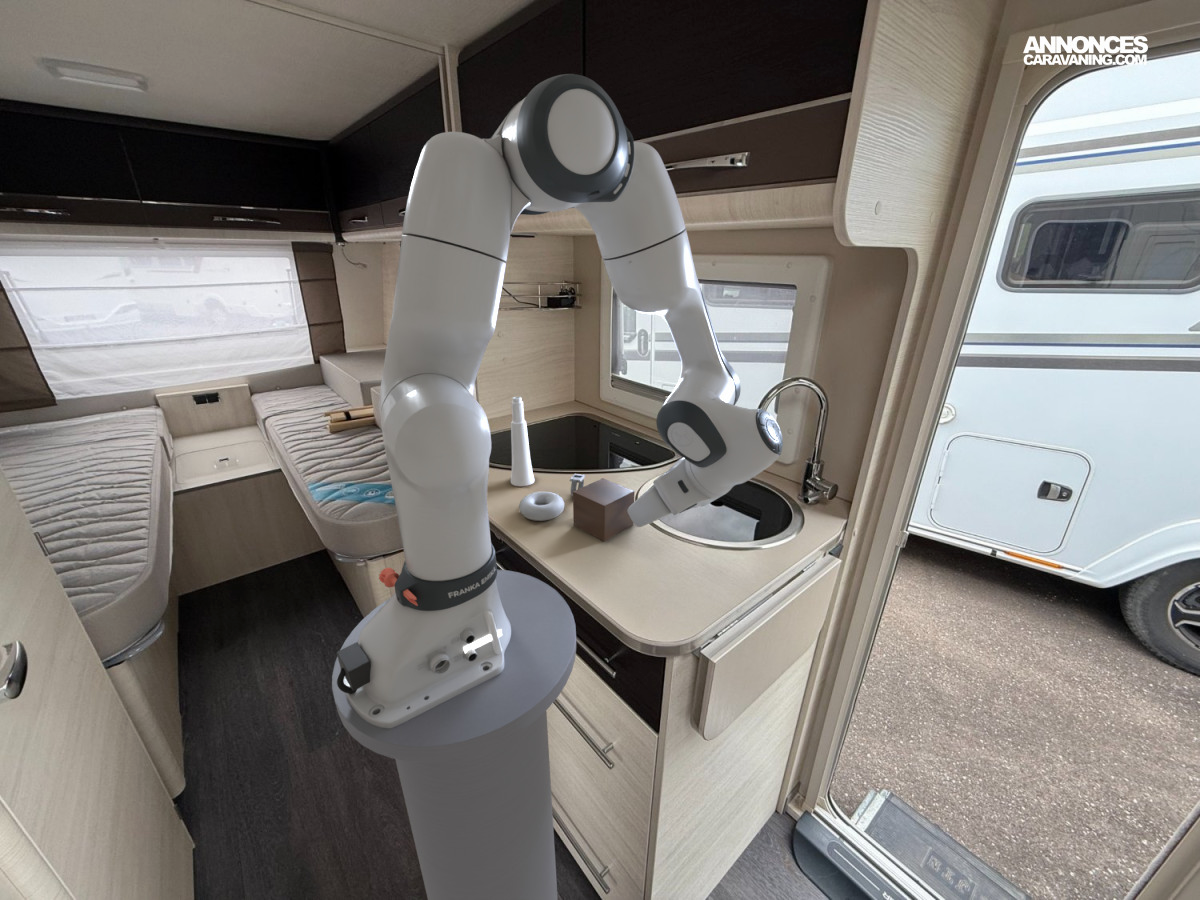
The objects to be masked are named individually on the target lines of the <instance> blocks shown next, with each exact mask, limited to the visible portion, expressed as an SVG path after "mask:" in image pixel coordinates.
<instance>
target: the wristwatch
mask: <svg viewBox="0 0 1200 900" xmlns="http://www.w3.org/2000/svg"><path fill="white" fill-rule="evenodd" d="M570 477H571V478H570V479H569V483H570V482H571V484H570V496H571V497H572V498H573V491H575V490H578V489H580V488H582V487H584V486H585V477H586V475H585V474H580V473H574V474H572V476H570Z"/></svg>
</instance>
